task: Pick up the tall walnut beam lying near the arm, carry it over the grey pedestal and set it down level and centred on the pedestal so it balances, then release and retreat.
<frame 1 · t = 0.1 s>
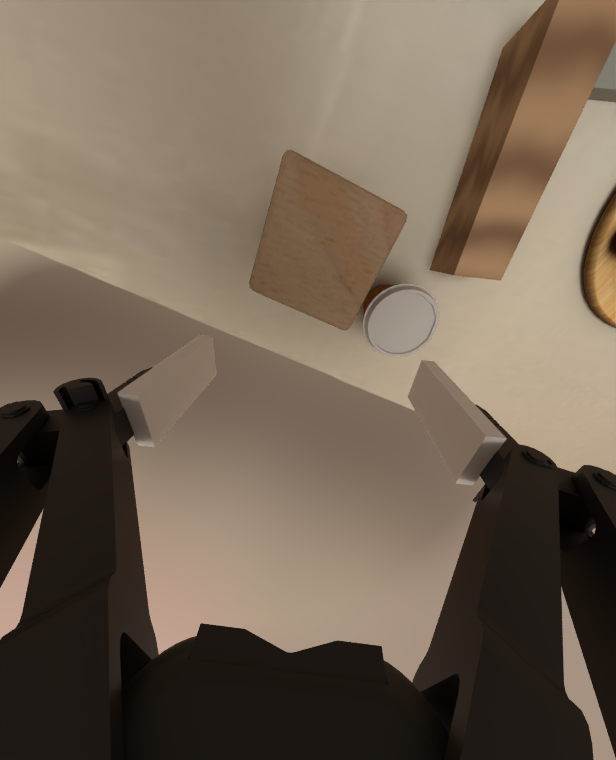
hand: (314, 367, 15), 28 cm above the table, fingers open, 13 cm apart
walnut beam: (481, 181, 31), on the table
wooden block: (323, 250, 36), on the table
disposable coffee cup: (382, 304, 39), on the table
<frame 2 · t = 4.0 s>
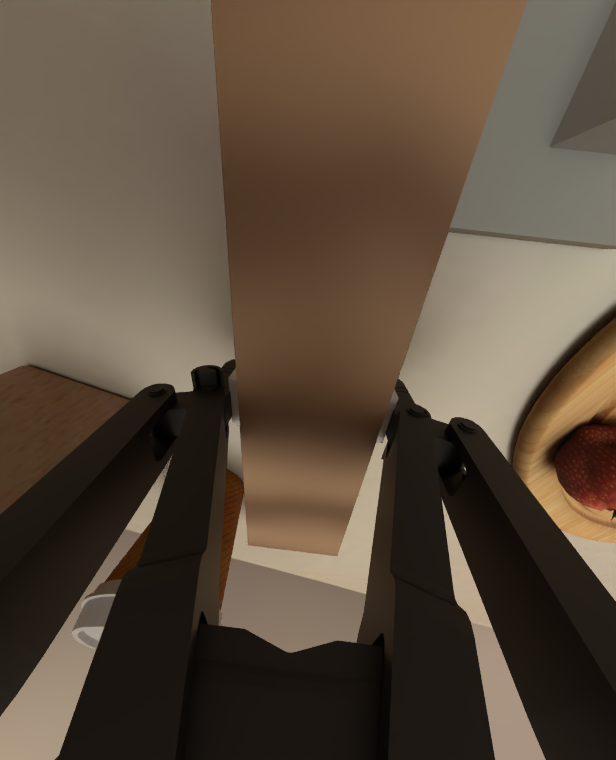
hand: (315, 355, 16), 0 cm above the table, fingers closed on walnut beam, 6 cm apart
walnut beam: (315, 352, 17), on the table, touching gripper
wooden block: (95, 423, 22), on the table
disposable coffee cup: (216, 482, 26), on the table
pedestal: (573, 105, 10), on the table
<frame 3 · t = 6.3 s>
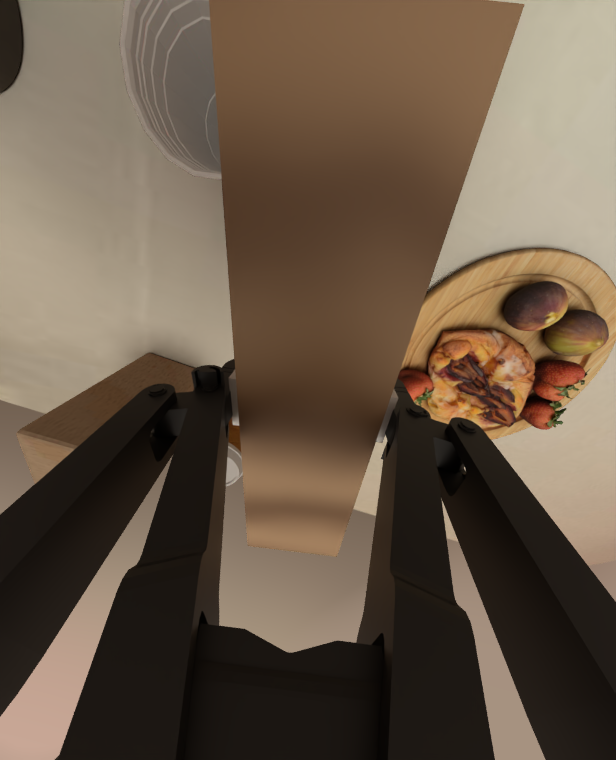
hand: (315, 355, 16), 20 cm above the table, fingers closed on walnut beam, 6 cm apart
walnut beam: (315, 353, 17), point 19 cm above the table, touching gripper
plastic cup: (250, 144, 26), on the table
wooden plate with food: (482, 361, 37), on the table
wooden block: (176, 383, 43), on the table
disposable coffee cup: (237, 418, 46), on the table
when the fingers open (8 cm above the table, at t = 8.9 s): walnut beam stays where it is, resting on pedestal.
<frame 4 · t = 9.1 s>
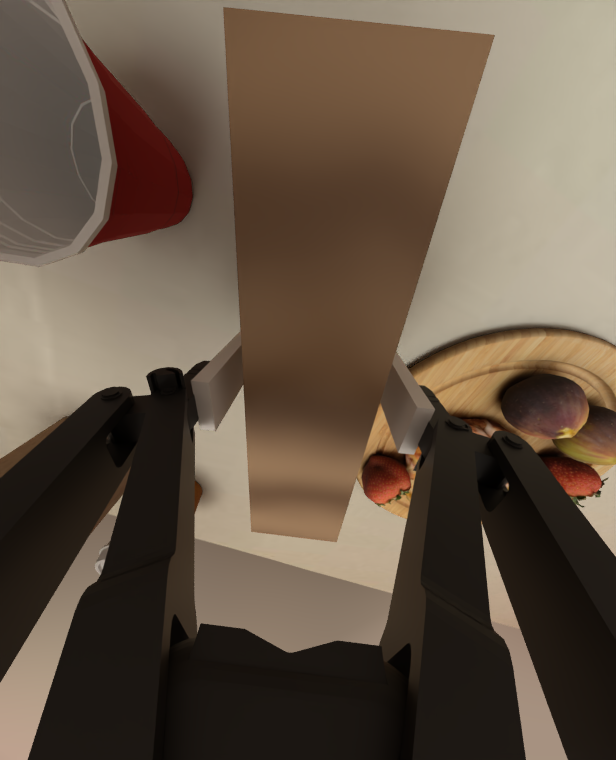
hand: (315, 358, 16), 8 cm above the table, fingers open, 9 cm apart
walnut beam: (315, 347, 18), point 6 cm above the table, touching pedestal
plastic cup: (159, 180, 18), on the table
wooden plate with food: (473, 442, 30), on the table
wooden block: (105, 448, 35), on the table
disposable coffee cup: (184, 486, 39), on the table
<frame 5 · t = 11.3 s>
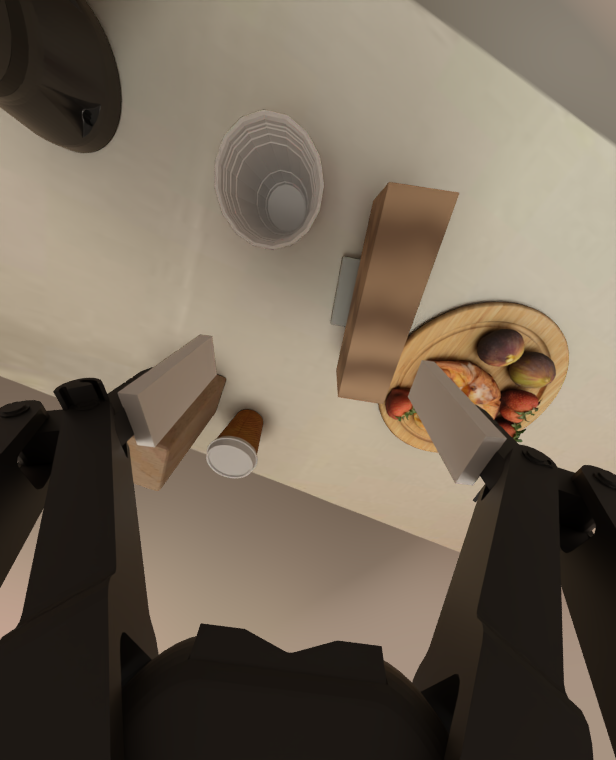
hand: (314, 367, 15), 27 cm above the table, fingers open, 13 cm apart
walnut beam: (373, 302, 32), point 6 cm above the table, touching pedestal
plastic cup: (287, 207, 33), on the table
wooden plate with food: (460, 385, 45), on the table
wooden block: (199, 386, 49), on the table
disposable coffee cup: (249, 419, 52), on the table
pedestal: (366, 295, 38), on the table
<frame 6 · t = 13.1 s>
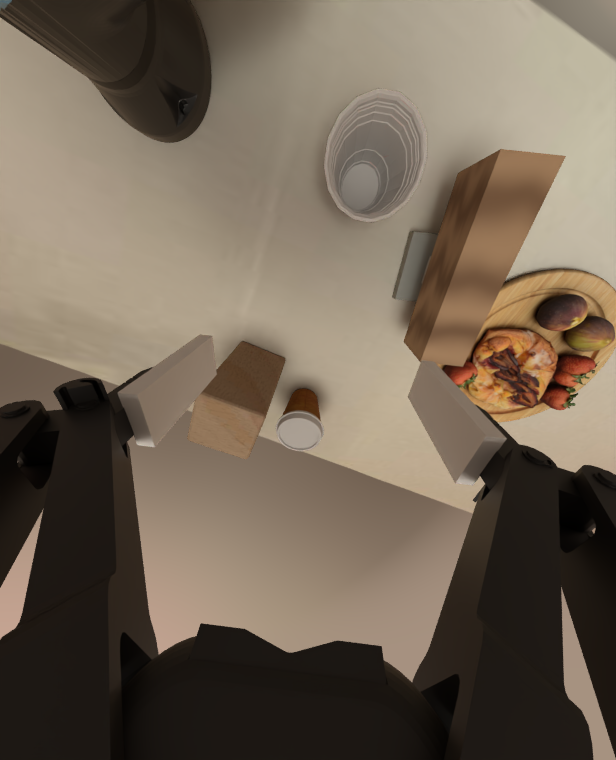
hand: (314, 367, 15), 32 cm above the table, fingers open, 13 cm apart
walnut beam: (446, 273, 34), point 6 cm above the table, touching pedestal
plastic cup: (360, 186, 35), on the table
wooden plate with food: (512, 355, 47), on the table
wooden block: (258, 367, 52), on the table
disposable coffee cup: (304, 399, 55), on the table
pedestal: (429, 269, 39), on the table
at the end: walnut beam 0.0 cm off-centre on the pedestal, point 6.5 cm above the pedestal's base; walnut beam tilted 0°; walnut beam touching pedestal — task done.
